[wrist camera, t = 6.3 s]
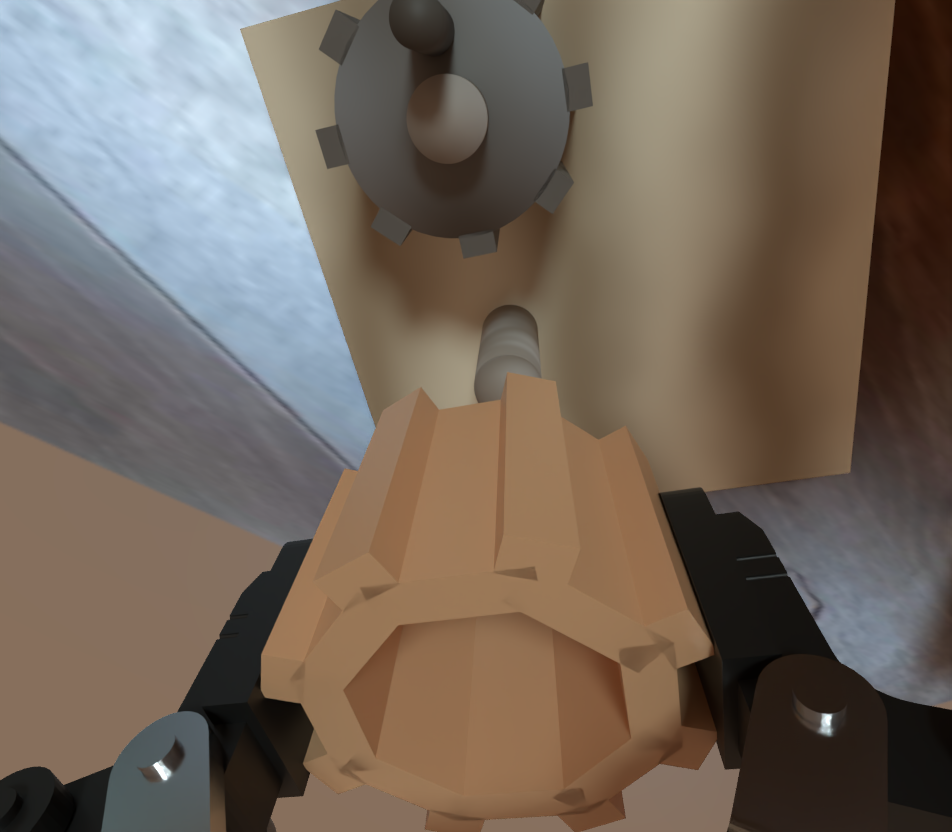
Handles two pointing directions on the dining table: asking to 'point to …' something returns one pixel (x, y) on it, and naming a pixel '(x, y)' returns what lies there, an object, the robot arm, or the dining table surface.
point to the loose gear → (494, 619)
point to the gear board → (599, 210)
